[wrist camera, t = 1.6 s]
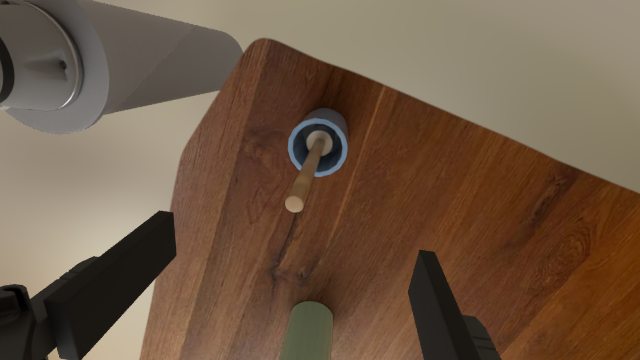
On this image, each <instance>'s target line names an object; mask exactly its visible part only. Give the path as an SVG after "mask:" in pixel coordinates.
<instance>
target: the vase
mask: <svg viewBox="0 0 640 360" xmlns="http://www.w3.org/2000/svg"><path fill="white" fill-rule="evenodd" d="M333 322H334V318H333V315H332V313H331V311H330V310H329V309H328V308H327V307H326V306H325V305H323V304H321V303H318V302H314V301H305V302H301V303H299V304H297V305H296V306H295V307H294V308H293V309H292V310H291V313H290V317H289V321H288V325H287V329H286V333H285V337H284V341H283V345H282V348H281V352H280V356H279V360H331V351H332V338H333Z"/></svg>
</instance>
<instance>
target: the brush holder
mask: <svg viewBox="0 0 640 360" xmlns="http://www.w3.org/2000/svg"><path fill="white" fill-rule="evenodd" d="M316 124H325V125H327V126H329V127H330V128H332V129H334V130H335V138H334V142H333V146H332V149H331V151H330V152H329V153H328V154H326V155H324V156H321V157H320V160H319V163H318V166H317V169H316V172H315V175H314V176H318V177H321V176H325V175H330V174H332V173H333V172H335V171H336V170H338V169H339V168H340V167H341V165H342V164H343V162H344V161H345V159H346V155H347V149H348V136H349V131H348V126H347V123H346V121H345V119H344V118H343V117H342V116H341V115H340V114H339V113H338V112H336V111H334V110H332V109H328V108H319V109H316V110H313V111H311V112H310V113H308V114H307V115H306V116H305V117H304V118H303V119H302V120H301V121H300V123H299V124H298V125H297V126H296V127H295V128H294V130H293V132H292V133H291V135H290V137H289V142H288V152H289V155H290V158H291V160H292V162H293V163H294V165H295V166H296V167H297V168H298V169H299V170H301V168H302V166H303V164H304V162H305V160H306V158H307V156H308V154H309V152H310V151H309V150H308V148H307V144H306V142H307V138H308V136H309V134H310V133H311V131H312V129H313V128H314V126H315V125H316Z"/></svg>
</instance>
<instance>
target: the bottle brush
mask: <svg viewBox="0 0 640 360" xmlns="http://www.w3.org/2000/svg"><path fill="white" fill-rule="evenodd" d="M334 138H335V130H334V129H332V128H330V127H329V126H327V125H325V124H316V125H315V126H314V128H313V129H312V131H311V133H310V134H309V136H308V138H307V142H306V144H307V148H308V150H309V151H310V152H309V154H308V156H307V158H306V160H305V162H304V164H303V166H302V168H301V170H300V172H299V174H298V176H297V178H296V180H295V182H294V184H293V186H292V188H291V190H290V192H289V194H288V196H287V199H286V201H285V205H286V207H287V209H288V210H289V211H291V212H299V211H301V210H302V209H303V207H304V204H305V201H306V198H307V195H308V192H309V189H310V186H311V183H312V181H313V178H314V175H315V172H316V169H317V166H318V163H319V160H320V157H321V156H324V155H326V154H328V153H329V152H330V151H331V149H332V146H333V142H334Z"/></svg>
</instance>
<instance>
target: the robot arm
mask: <svg viewBox="0 0 640 360" xmlns="http://www.w3.org/2000/svg"><path fill="white" fill-rule="evenodd" d="M83 82H84V67H83V61H82V57H81V54H80V51H79V49H78V47H77V44H76V42H75V41H74V39H73V37H72V36H71V34H70V32H69V31H68V30H67V28H66V27H65V26H64V25H63V24H62V23H61V22H60V21H59V20H58V19H57V18H56V17H55V16H54V15H53V14H51V13H50V12H49V11H47V10H45V9H44V8H42V7H40V6H38V5H35V4H33V3H29V2H25V1H20V0H0V106H3V107H1V108H0V110H7V109H8V108H10V107H15V108H22V109H25V110H30V111H42V112H46V111H54V110H60V109H63V108H66V107H68V106H69V105H71V104H72V103H73V102H74V101H75V100H76V99H77V98H78V96H79V94H80V92H81V90H82V87H83ZM175 256H176V242H175V229H174V215H173V212H166V211H158V212H157V213H156V214H154V215H153V216H152V217H150V218H149V219H148V220H147V221H145V222H144V223H143V224H141V225H140V226H139V227H137V228H136V229H135V230H134V231H132V232H131V233H130V234H128V235H127V236H126V237H124V238H123V239H122V240H121V241H119V242H118V243H117V244H115V245H114V246H113V247H111V248H110V249H109V250H108V251H106V252H105V253H104V254H102V255H101V256H100V257H95V256H93V257H91V258H89V259H87V260H85V261H82V262H80V263H79V264H77V265H76V266H75V267H73V268H72V269H70V270H69V272H66V273H65V274H64V275H62V276H61V277H60V278H59V279H57V280H55V281H54V282H53V283H51V284H50V285H49V286H47V287H46V288H45V289H43V290H42V291H40V292H39V293H38V294H36V295H35V296H34V297H32V298H31V299H30V298H29V295H28V292H27V288H26V287H25V286H23V285H16V284H13V285H6V286H2V287H0V360H48V356H47V355H48V354H49V353H50V352H51V351H53V349H55V348H56V347H57V350H58V354H59V357H60V358H61V359H67V360H82V358H83V357H84V356H85V355H86V354H87V353H88V352H89V351H90V350H91V349H92V348H93V346H94V345H95V344H96V343H97V342H98V341H99V340H100V339H101V338H102V337H103V336H104V334H105V333H106V332H107V331H108V330H109V329H110V328H111V327H112V326H113V324H114V323H115V322H116V321H117V320H118V319H119V318H120V317H121V316H122V314H124V312H125V311H126V310H127V309H128V308H129V307H130V306H131V305H132V304H133V303H134V301H135V300H136V299H137V298H138V297H139V296H140V295H141V294H142V293H143V292H144V290H145V289H146V288H147V287H148V286H149V285H150V284H151V283H152V282H153V281H154V280H155V278H156V277H157V276H158V275H159V274H160V273H161V272H162V271H163V270H164V269H165V267H166V266H167V265H168V264H169V263H170V262H171V261H172V260H173V259H174V258H175ZM408 295H409V299H410V303H411V307H412V311H413V315H414V320H415V324H416V328H417V332H418V336H419V340H420V345H421V349H422V353H423V357H424V360H501V358H500V356H499V354H498V352H497V351H496V348H495V346H494V344H493V342H492V341H491V338H490V336H489V334H488V332H487V330H486V328H485V327H484V326H483V325H482V324H481V322H480V321H479V320H478V319H477V318H476V317H473V316H467V315H462V314H461V312H460V310H459V307H458V305H457V303H456V300H455V298H454V296H453V294H452V291H451V289H450V287H449V284H448V282H447V280H446V277H445V275H444V273H443V270H442V268H441V266H440V263H439V261H438V259H437V256H436V254H435V252H431V251H424V250H419V254H418V257H417V261H416V264H415V268H414V272H413V275H412V279H411V283H410V286H409V290H408Z"/></svg>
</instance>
